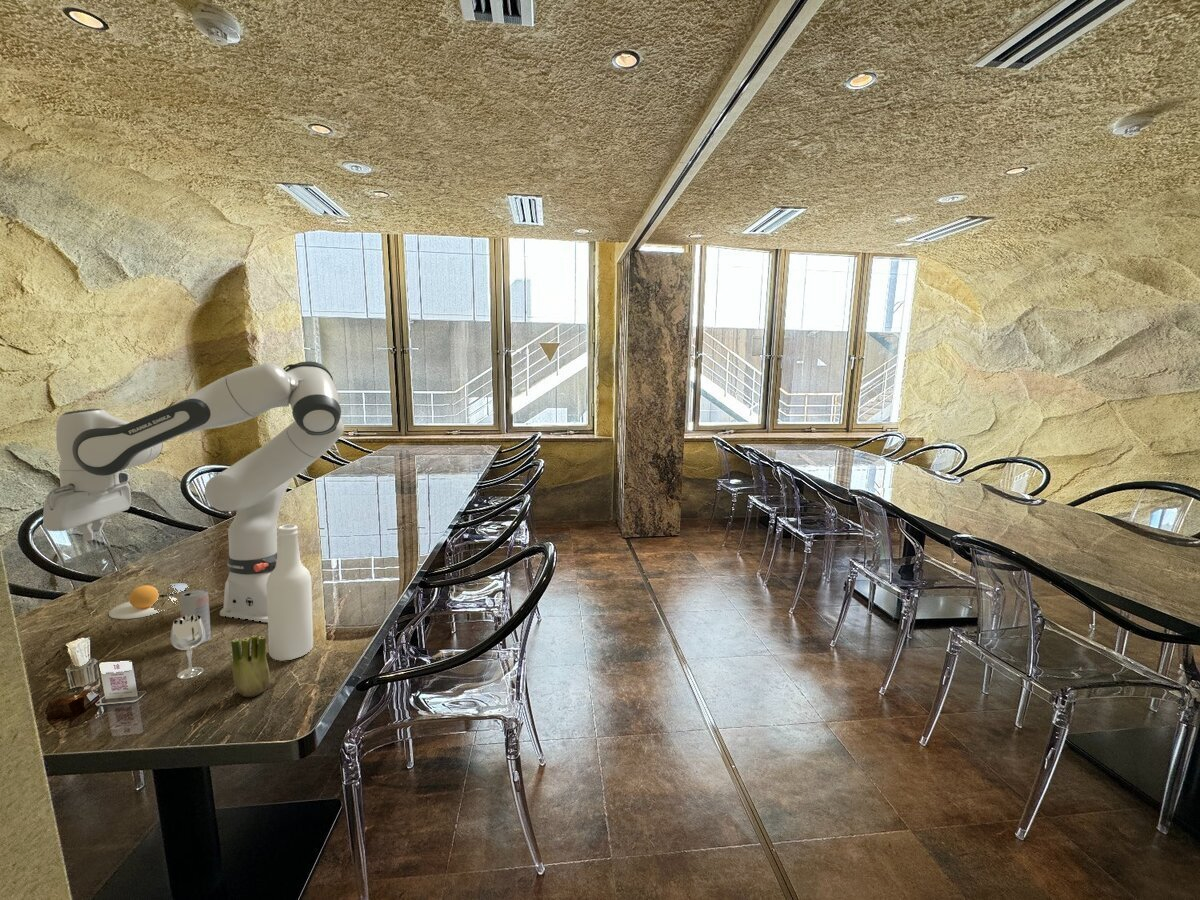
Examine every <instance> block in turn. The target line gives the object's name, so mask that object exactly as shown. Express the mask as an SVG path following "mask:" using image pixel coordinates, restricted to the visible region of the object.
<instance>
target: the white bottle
mask: <svg viewBox="0 0 1200 900" xmlns="http://www.w3.org/2000/svg"><path fill="white" fill-rule="evenodd" d="M298 533H299V531H298V526H297V525H296V524H283V525H281V526H280V525H279V526H277V564H276V567H275V569H274V570H273V571H272V572H271V573H270V575H269V576H268V580H267V584H266V588H267V612H268V622H267V630H268V631H267V632H268V633H267V635H268V653H269V656H270V657H271V658H272V659H273V660H274V659H275V660H274V661H276V660H280V661H279V662H281V661H284V660H292V659H295V658H298V657H301V656H303V655H305V654H307V653H308V652H309V653H310V652H311V651H312V649H313V648H314V628H313V627H314V625H313V623H314V622H313V595H312V594H313V591H312V588H313V587H312V576H311V572H310V570H308V569H307V567H306V566H305V565H303V563H302V561H301V555H300V547H299V545H300V544H299V538H298V537H299V536H298ZM310 650H311V651H310ZM309 653H308V654H309ZM308 654H307V655H308ZM292 661H293V660H292ZM284 662H285V661H284Z"/></svg>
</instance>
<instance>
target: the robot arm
mask: <svg viewBox="0 0 1200 900" xmlns="http://www.w3.org/2000/svg"><path fill="white" fill-rule="evenodd" d="M289 406H290V409H291V410H292V411H291V413H292V417H293V420H294V421H293V422H292V423H290V424H289V425H288V426H287V427H286V428H284V429H283V430H282V431H280V432H279V433H278V434H277V435H275V436H274V437H273V438H272V439H270V440H269V441H268V442H267V443H266V444H264V445H262V446H261V447H259V448H257V449H255V450H254V451H252V452H251V453H249V454H248V455H246V456H244V457H242V458H241V459H240V460H238V461H236V462H235V463H233V464H231V465H230V466H229V467H228V468H225V470H222V471H220V472H219V473H218V474H216V475H214V476H212V477H211V478H210V479H209V480H208V481H207V483H206V485H205V487H204V496H205V499H206V500H207V502H208V504H209V505H210V506H211V507H212V508H214V509H216V510H218V511H222V512H234V511H236V514H235V517H234V518H233V520H232V522H231V523H230V524H229V527H228V529H227V530H228V531H227V534H228V535H227V536H228V551H229V552H228V555H227V561H226V565H227V570H228V572H229V573H228V576H227V579H226V581H225V583H224V591H223V592H224V593H223V594H224V595H223V596H224V597H223V608H221V610H220V611H219V616H220V617H225V616H226V617H227V618H232V617H234V618H233V619H238V618H240V620H245V619H248V620H247V621H252V620H254V621H253V622H259V621H261V623H268V612H267V588H266V584H267V580H268V576H269V575H270V573H271V572H272V571H273V570H274V569H275V567H276V564H277V546H278V535H277V533H278V530H277V528H278V520H279V514H280V510H281V506H282V502H283V499H284V496H285V494H286V491H287V490H288V488H289V487H290V484H291V481H292V479H293V478H295V477H297V476H298V475H299V474H301V473H302V472H303V471H305V470H306V469H307V468H309V466H311V465H312V464H314V462H316V461H317V460H318V459H319V458H320V457H322V456H323V455H325V453H326V452H327V451H329V450H330V449H331V448H332V447H333V446H334V445H335V443H336V442H338V440H339V439H340V438H341V436H342V435H343V433H344V431H345V425H344V422H343V419H342V418H341V414H342V407H341V406H340V397H339V393H338V390H337V388H336V385H335V382H334V378H333V375H332V374H331V372H330V371H329V369H327V367H326V366H325V365H323V364H322V363H320V362H317V361H310V360H309V361H300V362H296V363H294V364H287V365H286V366H284V367H281V366H280V365H277V364H276V363H272V362H266V363H262V364H261V363H260V364H257V365H253V366H249V367H245V368H243V369H240V370H237V371H235V372H232V373H230V374H227V375H225V376H222V377H220V378H218V379H216V380H215V381H212V382H210V383H208V384H207V385H205V386H203V387H201V388H200V389H198V390H197V391H195V392H193V393H191V394H190V395H187V396H186V397H184V398H182V399H181V400H179V401H177V402H175V403H174V404H172V405H170V406H167V407H165V408H163V409H161V410H158V411H155V412H153V413H150V414H148V415H145V416H143V417H140V418H138V419H135V420H133V421H131V422H130V421H127V420H125V419H122V418H119V417H116V416H114V415H112V414H110V413H108V411H107V410H105V409H102V408H89V409H80V410H71V411H67V412H63V413H62V414H61V415H60V416H59V417H58V420H57V422H56V430H55V431H56V433H55V435H56V436H55V437H56V451H57V452H58V454H59V456H60V463H59V466H58V473H59V475H58V476H59V483H60V486H58V487H56V486H55V487H54V488H52V489H51V490H50V492H48V494H46V497H45V501H44V503H43V511H42V512H43V516H42V517H43V520H42V522H43V527H44V529H45V530H46V531H49V532H64V531H67V530H70V529H74V528H77V529H78V530H79V531H80V533H81V534H82V541H84V542H91V541H93V540H96V539H100V538H101V537H102V535H103V533H102V529H103V527H104V525H105V523H106V517H107V518H108V517H109V516H114V515H117V514H118V513H122V512H125V511H128V510H129V509H130V508H131V505H132V493H131V491H132V490H131V485H130V484H129V483H128V482H130V481H131V474H130V472H124V471H123V470H127V469H131V468H135V467H137V466H138V467H139V466H141V465H144V464H148V463H150V462H153V461H154V460H155V459H157V458H158V457H159V456H160V455H161V453H162V450H163V447H164V445H163V443H164V442H167V441H169V440H171V439H174V438H177V437H179V436H182V435H184V434H188V433H189V434H190V433H194V432H199V431H205V430H212V429H218V428H224V427H229V426H233V425H236V424H241V423H244V422H246V421H250V420H251V419H254V418H256V417H258V416H260V415H263V414H264V413H267V412H268V411H270V410H272V409H277V408H282V407H283V408H284V407H289Z"/></svg>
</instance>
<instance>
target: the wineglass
mask: <svg viewBox="0 0 1200 900" xmlns="http://www.w3.org/2000/svg"><path fill="white" fill-rule="evenodd" d="M204 638H205V626H204V623H203V620H202V618H201V616H200V615H187V616H183V617H181V616H180V617H177V618H176V619H174V620H173V622H172V625H171V630H170V642H171V645H172V646H173V648H175V649H177V650H181V651H185V650H186V652H185V653H186V657H187V659H188V668H186V669H183V670H181V671H180V672H179V673H178V674H177V675H176V677H177V678H178V679H181V680H186V679H192V678H195V677H197V676H199V675H201V674H202V673H203V672H204V670H205V669H204V668H203V667H200V666H193V665H192V655H193V650H192V649H194V648H196V647H198V646H200V645H202V644H201V643H202V641H203V640H204ZM199 644H200V645H199Z"/></svg>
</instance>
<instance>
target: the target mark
mask: <svg viewBox="0 0 1200 900" xmlns="http://www.w3.org/2000/svg"><path fill="white" fill-rule="evenodd" d="M168 596H169V598H170V599H171V601H172V602H173V600H174V601H176V600H178V598H176V597H174V596H171V595H168ZM171 597H172V598H171ZM168 600H169V599H168ZM177 602H178V601H177ZM173 603H174V602H173ZM175 604H176V603H175ZM176 605H177V604H176ZM158 610H159V609H158ZM161 611H162V610H161ZM159 612H160V611H159ZM159 612H158V611H157V610H154V608H151V606H150V607H148V608H143V609H140V608H135V607H133V606H132V605H131V604H130V602H129V601H126V602H123V603H121V604H119V605H116V606H114V607H113V608H112V609H110V610H109V612H108V616H109V617H110V618H112V619H115V620H132V619H140V618H146V616H147V617H149V616H150V615H151V616H154V615H153V614H155V615H157V614H156V613H158V614H160V613H159ZM164 612H166V611H165V610H164ZM151 616H150V617H151Z"/></svg>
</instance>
